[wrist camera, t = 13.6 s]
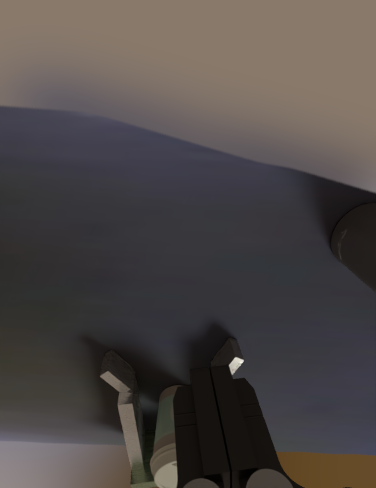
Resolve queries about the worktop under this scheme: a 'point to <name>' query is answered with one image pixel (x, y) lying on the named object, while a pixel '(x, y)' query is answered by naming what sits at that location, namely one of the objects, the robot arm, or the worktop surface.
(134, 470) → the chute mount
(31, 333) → the worktop surface
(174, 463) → the coffee cup
